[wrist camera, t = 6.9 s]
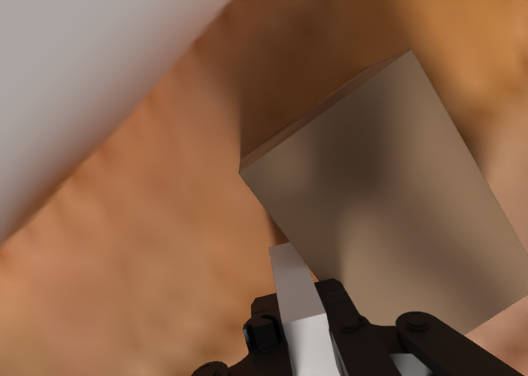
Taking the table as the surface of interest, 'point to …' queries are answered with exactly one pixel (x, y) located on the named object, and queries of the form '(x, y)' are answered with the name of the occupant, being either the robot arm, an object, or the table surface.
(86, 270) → the table surface
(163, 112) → the table surface
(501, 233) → the walnut block
